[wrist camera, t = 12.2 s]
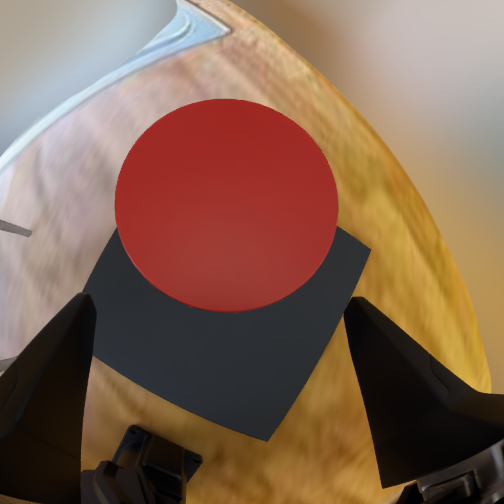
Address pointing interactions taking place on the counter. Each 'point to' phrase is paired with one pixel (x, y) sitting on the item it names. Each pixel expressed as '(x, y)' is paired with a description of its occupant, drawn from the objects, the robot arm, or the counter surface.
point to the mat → (221, 339)
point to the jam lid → (226, 205)
